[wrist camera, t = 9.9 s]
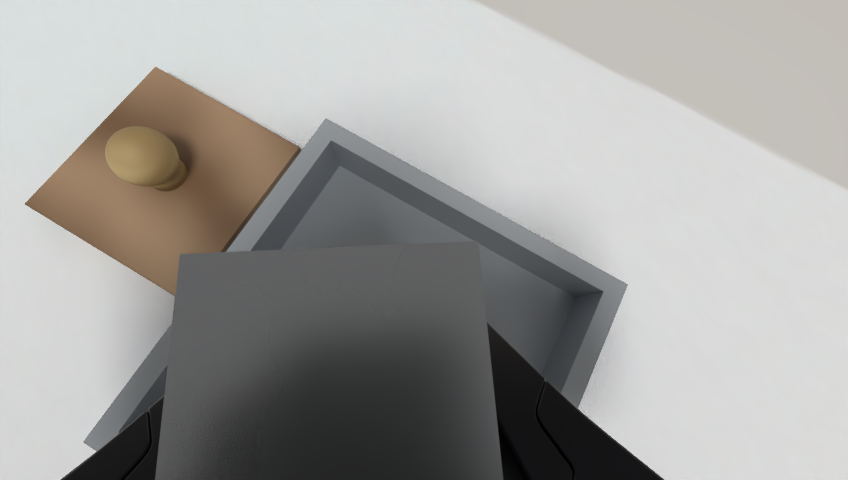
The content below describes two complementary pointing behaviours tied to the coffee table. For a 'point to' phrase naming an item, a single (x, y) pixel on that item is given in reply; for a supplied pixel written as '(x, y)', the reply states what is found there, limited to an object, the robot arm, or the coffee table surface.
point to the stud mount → (165, 178)
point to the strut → (330, 366)
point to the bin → (411, 224)
